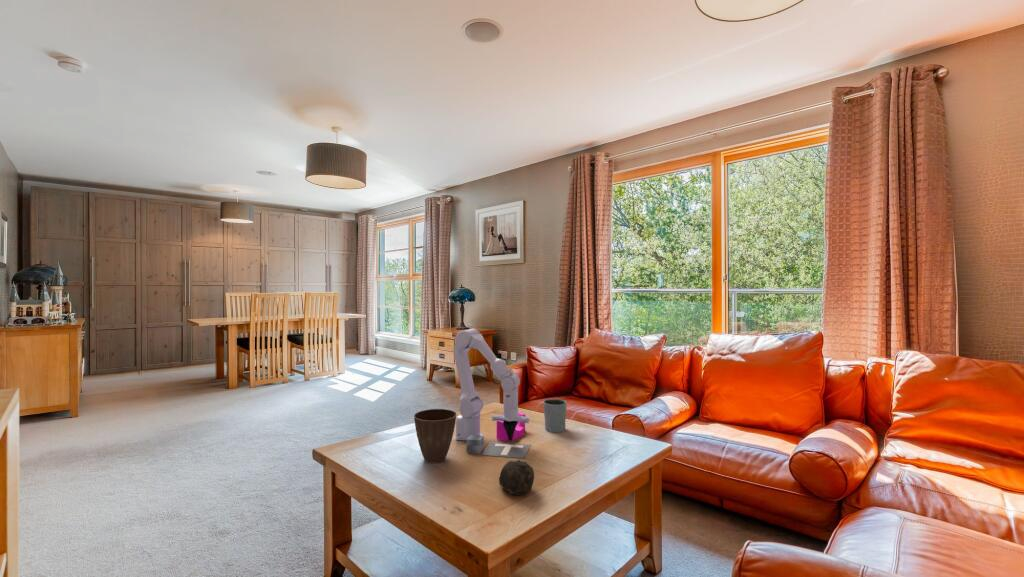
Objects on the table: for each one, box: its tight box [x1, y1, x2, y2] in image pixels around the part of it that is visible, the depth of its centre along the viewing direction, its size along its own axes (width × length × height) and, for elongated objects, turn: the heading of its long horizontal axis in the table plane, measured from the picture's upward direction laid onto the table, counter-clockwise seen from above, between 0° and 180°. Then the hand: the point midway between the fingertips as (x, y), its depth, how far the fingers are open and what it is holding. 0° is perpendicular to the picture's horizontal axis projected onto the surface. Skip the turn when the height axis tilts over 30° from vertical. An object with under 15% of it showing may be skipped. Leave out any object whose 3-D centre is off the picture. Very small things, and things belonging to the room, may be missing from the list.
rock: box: [498, 459, 535, 496], centre depth 134 cm, size 10×11×10 cm
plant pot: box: [413, 408, 457, 464], centre depth 158 cm, size 15×15×16 cm
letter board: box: [480, 441, 532, 460], centre depth 167 cm, size 16×14×1 cm
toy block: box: [496, 412, 526, 443], centre depth 184 cm, size 15×6×8 cm, turn 144°
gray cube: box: [466, 435, 484, 455], centre depth 167 cm, size 5×5×5 cm
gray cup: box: [542, 398, 568, 434], centre depth 192 cm, size 10×10×12 cm
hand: (510, 440), depth 174 cm, fingers closed
